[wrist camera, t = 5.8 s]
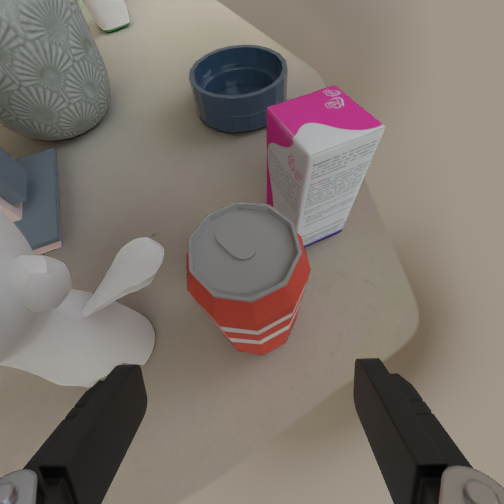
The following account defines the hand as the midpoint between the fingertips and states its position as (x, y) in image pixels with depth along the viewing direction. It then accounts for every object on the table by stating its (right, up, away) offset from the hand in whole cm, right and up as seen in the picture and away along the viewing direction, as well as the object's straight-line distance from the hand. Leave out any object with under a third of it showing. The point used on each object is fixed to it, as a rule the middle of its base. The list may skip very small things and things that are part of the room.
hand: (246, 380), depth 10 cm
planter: (-26, +24, +29) cm, 46 cm away
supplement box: (+6, +8, +17) cm, 20 cm away
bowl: (-1, +25, +27) cm, 37 cm away
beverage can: (+1, -1, +13) cm, 13 cm away
